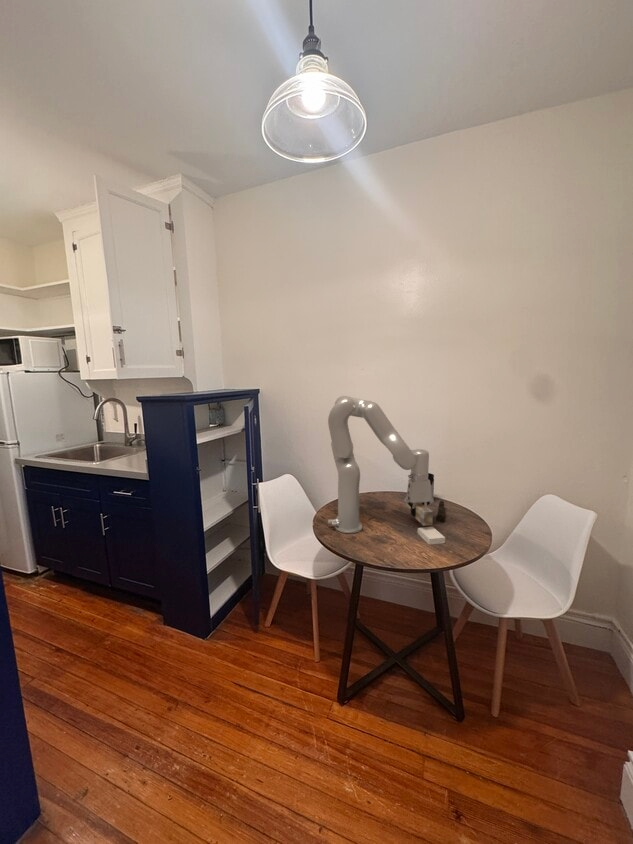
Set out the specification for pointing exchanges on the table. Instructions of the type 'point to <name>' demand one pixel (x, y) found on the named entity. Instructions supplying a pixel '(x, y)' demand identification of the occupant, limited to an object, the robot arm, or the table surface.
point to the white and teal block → (431, 535)
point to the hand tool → (440, 513)
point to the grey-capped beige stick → (422, 513)
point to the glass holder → (431, 478)
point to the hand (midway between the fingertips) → (418, 515)
